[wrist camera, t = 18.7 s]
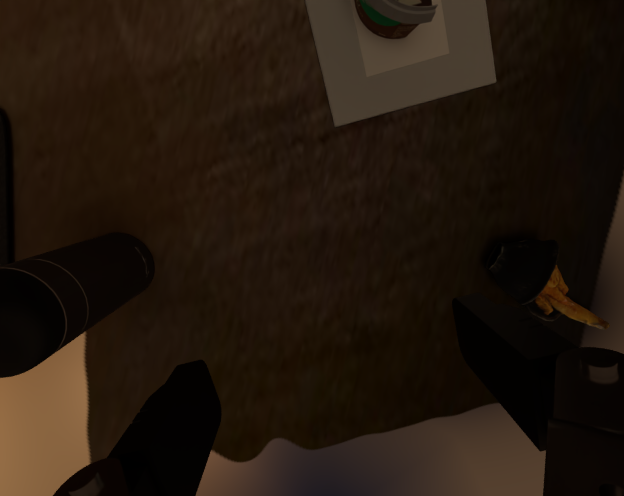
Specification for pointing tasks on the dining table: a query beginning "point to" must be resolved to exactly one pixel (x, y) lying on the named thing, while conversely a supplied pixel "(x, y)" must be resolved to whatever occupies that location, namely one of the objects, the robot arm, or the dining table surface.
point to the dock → (399, 58)
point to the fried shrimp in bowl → (536, 280)
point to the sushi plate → (4, 196)
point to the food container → (394, 16)
